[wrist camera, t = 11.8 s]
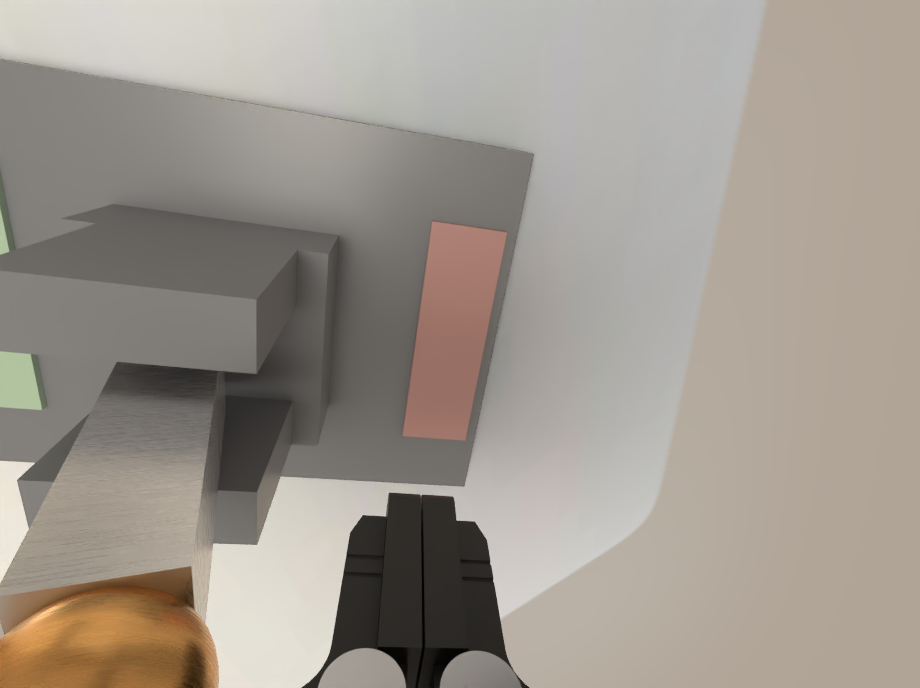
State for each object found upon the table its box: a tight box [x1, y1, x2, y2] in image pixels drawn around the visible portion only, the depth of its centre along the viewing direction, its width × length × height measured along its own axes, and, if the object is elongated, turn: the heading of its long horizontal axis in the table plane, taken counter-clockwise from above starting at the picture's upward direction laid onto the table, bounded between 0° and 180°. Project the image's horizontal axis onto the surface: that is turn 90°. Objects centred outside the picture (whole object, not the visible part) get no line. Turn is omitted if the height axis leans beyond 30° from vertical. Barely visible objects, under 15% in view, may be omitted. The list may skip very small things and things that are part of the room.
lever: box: [0, 362, 226, 688], centre depth 11 cm, size 3×3×13 cm
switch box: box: [0, 59, 534, 545], centre depth 17 cm, size 16×22×10 cm
